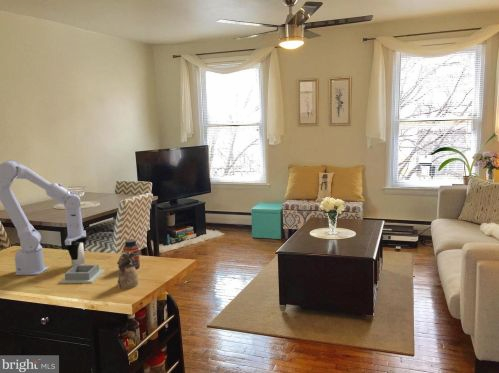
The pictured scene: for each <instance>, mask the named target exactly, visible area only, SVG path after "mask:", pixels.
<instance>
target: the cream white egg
mask: <svg viewBox="0 0 499 373" xmlns="http://www.w3.org/2000/svg"><path fill="white" fill-rule="evenodd" d="M76 243H80V245H79V248H78V259H77V260H72V259H71V258H70V262H71V266H75V265H85V262H86V259H85V249H84V247H83V242H76Z"/></svg>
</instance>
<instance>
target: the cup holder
mask: <svg viewBox="0 0 499 373" xmlns="http://www.w3.org/2000/svg"><path fill="white" fill-rule="evenodd" d="M104 272H105V269H100V265H99V264H81V265H73V266H72V267H71V268H70V269H68V270H67V271H66V272H65V273H64V277H63V278H62V279H61V280H59V281H58V283H59V284H93V282H95V281H96V280H97V279H98V278H99V277H100V276H101V275H102V274H103V273H104Z"/></svg>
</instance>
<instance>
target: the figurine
mask: <svg viewBox="0 0 499 373" xmlns="http://www.w3.org/2000/svg"><path fill="white" fill-rule="evenodd" d="M133 254H134V253H133V252H131V253H130V254H129V255H128V253H127V252H124V253H122V254H121V255H120V256H119V258H118V261H117V262H116V264H117V266H118V270H119V271H118V278H117V288H119V289H121V290H125V289H132V288H135V287H137V286H138V284H139V276H138V272H137V269H135V259H134V258H133V257H132V256H133ZM130 261H133V264H132V263H130Z"/></svg>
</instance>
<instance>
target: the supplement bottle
mask: <svg viewBox="0 0 499 373" xmlns="http://www.w3.org/2000/svg"><path fill="white" fill-rule="evenodd" d="M124 242H125V243H124V244H125V245H124V246H123V248H122V249H123V251H122V252H123V253H124V252H127V253H128V255H129V254H130V253H131V252H133V253H134V254H133V256H132V257H133V258H134V259H135V269H136V270H138V269H140V266H141V264H140V263H141V262H140V247H139V245H138V244H137V240H136V239H135V238H133V239H126V240H125V241H124ZM123 253H122V254H123ZM130 263H132V264H133V261H130Z"/></svg>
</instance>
